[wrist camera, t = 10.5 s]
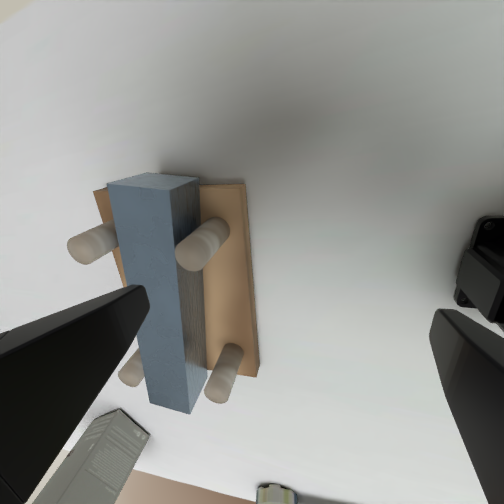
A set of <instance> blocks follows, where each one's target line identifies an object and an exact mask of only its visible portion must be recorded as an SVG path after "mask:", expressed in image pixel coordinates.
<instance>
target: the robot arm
mask: <svg viewBox="0 0 504 504" xmlns="http://www.w3.org/2000/svg"><path fill="white" fill-rule="evenodd" d="M488 222H491V225H490V226H489V227H486V228H484V226H485V224H486V223H488ZM456 284H457V285H458V286H457V290H456V293H455V296H454V300H455V302H456V303H457V305H459V306H460V307H467V308H477V309H478V310H479V311H480V312H481V314H482V315H483V316H484V317H485V318H486V319H487V320H488V321H489V322H490V323H497V325H498V326H499V327H500V328H501V329H502V330H503V332H504V216H485V217H482V218H481V219H479V220H478V222H477V224H476V227H475V230H474V233H473V237H472V240H471V243H470V247H469V248H468V249H467V250H466V251H465V253H464V256H463V260H462V263H461V267H460V270H459V273H458V277H457V280H456ZM464 298H467V299H466V300H464V301H461V300H462V299H464ZM149 310H150V303H149V299H148V296H147V292H146V289H145V287H144V286H143V285H135V284H132V285H129V286H126V287H124V288H121V289H118V290H116V291H113V292H110V293H108V294H105V295H102V296H99V297H97V298H94V299H91V300H89V301H86V302H83V303H81V304H78V305H75V306H73V307H70V308H67V309H65V310H62V311H59V312H57V313H54V314H51V315H49V316H46V317H43V318H41V319H38V320H35V321H33V322H30V323H27V324H25V325H22V326H19V327H17V328H14V329H12V330H11V331H6V332H3V333H1V334H0V504H25V503H26V502H27V500H28V499H29V497H30V496H31V494H32V493H33V491H34V490H35V488H36V487H37V485H38V484H39V482H40V481H41V479H42V478H43V476H44V475H45V473H46V472H47V470H48V469H49V467H50V466H51V464H52V463H53V461H54V460H55V458H56V457H57V456H58V454H59V452H60V451H61V449H62V448H63V447H64V445H65V444H66V442H67V441H68V439H69V438H70V436H71V435H72V433H73V432H74V430H75V429H76V427H77V426H78V424H79V423H80V421H81V420H82V418H83V417H84V415H85V414H86V412H87V411H88V409H89V408H90V406H91V405H92V403H93V402H94V400H95V399H96V397H97V396H98V394H99V393H100V391H101V390H102V388H103V387H104V385H105V384H106V382H107V381H108V379H109V378H110V376H111V375H112V373H113V372H114V370H115V369H116V367H117V366H118V364H119V363H120V361H121V360H122V358H123V357H124V355H125V354H126V352H127V351H128V349H129V347H130V345H131V344H132V342H133V340H134V338H135V336H136V335H137V333H138V331H139V329H140V327H141V325H142V324H143V322H144V320H145V318H146V316H147V314H148V312H149ZM429 339H430V344H431V347H432V351H433V355H434V358H435V362H436V365H437V369H438V373H439V376H440V380H441V384H442V387H443V390H444V394H445V397H446V399H447V402H448V405H449V407H450V410H451V412H452V415H453V417H454V420H455V422H456V425H457V427H458V429H459V432H460V434H461V437H462V439H463V442H464V444H465V447H466V449H467V452H468V454H469V457H470V459H471V462H472V464H473V467H474V469H475V472H476V474H477V476H478V479H479V481H480V484H481V486H482V489H483V491H484V494H485V496H486V499H487V501H488V504H504V338H502V337H501V336H499V335H497V334H496V333H494V332H492V331H491V330H489V329H487V328H486V327H484V326H482V325H481V324H479V323H477V322H475V321H474V320H472V319H470V318H469V317H467V316H465V315H464V314H462V313H460V312H459V311H457V310H454V309H437V310H436V312H435V314H434V317H433V321H432V325H431V329H430V333H429Z"/></svg>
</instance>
